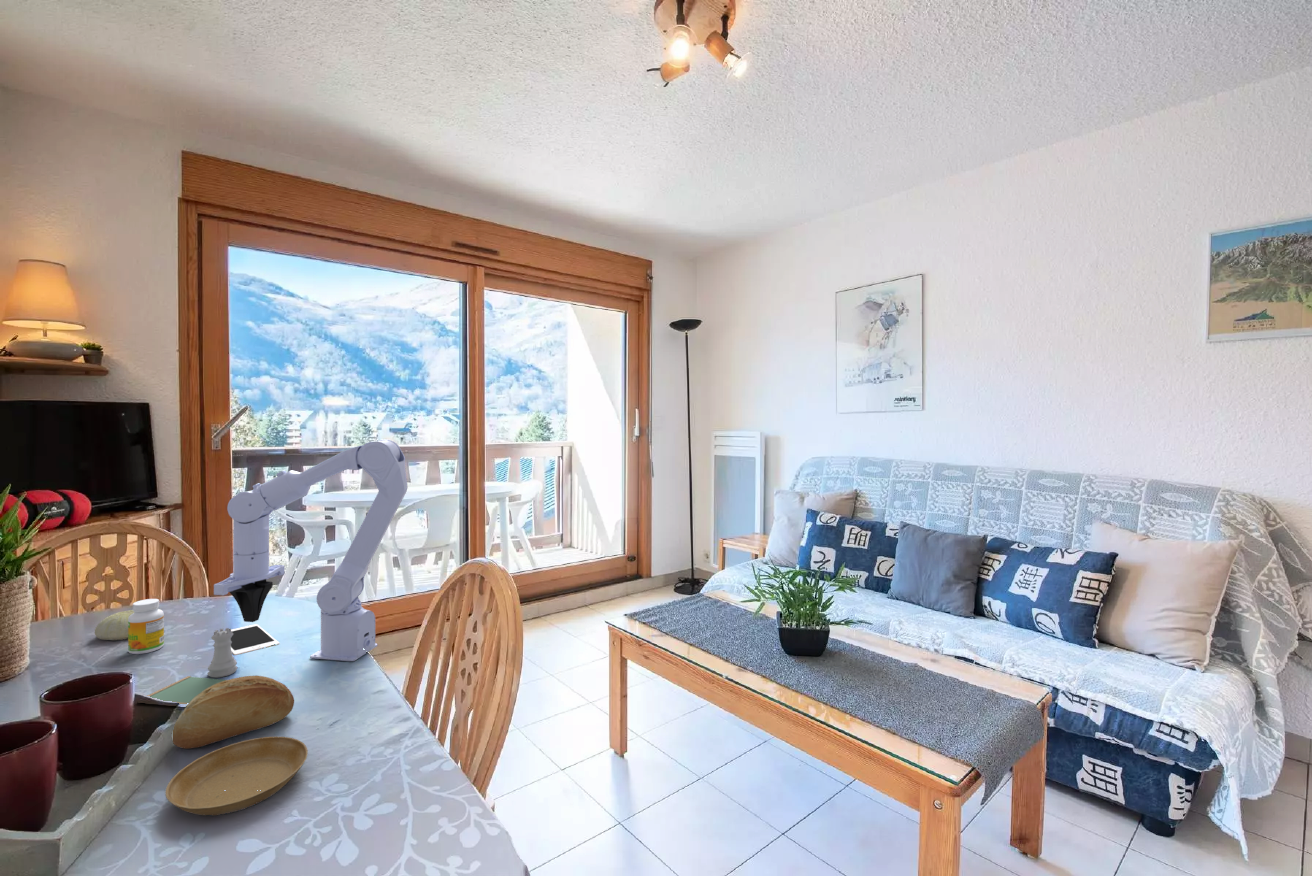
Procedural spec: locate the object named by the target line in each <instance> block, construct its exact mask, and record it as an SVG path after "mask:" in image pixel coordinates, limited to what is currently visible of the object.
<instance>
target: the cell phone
mask: <svg viewBox="0 0 1312 876" xmlns="http://www.w3.org/2000/svg"><path fill="white" fill-rule="evenodd" d="M231 632H232V633H233V636H232V637H231V639H230V640H231V641H232V643H231V652H232V655H234V656H237V655H242V654H245V653H249V652H254V651H258V650H261V648H262V649H265V648H264V647H266V648H270V647H272V646H271V645H274V644H278V645H280V641H278V640H277V639H276V638H274V637H273V636H272V635H271V634H270V633H269V632H268V631H266V630H265V629H264V628H262V627H261V626H260V625H259V624H258V623H256V624H255V623H254V624H251V625H246V626H241V627H237V628H233V629H232V628H231ZM269 646H270V647H269ZM274 646H275V645H274Z"/></svg>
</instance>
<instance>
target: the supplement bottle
mask: <svg viewBox="0 0 1312 876" xmlns="http://www.w3.org/2000/svg"><path fill="white" fill-rule="evenodd" d="M159 607H160V599H158V598H147V599H146V598H145V599H141V600H138V601H135V602H133V603H132V610H133V611H134V613H133V614H131V615H130V616H129V618H128V639H127V641H128V642H127V650H128V653H129V654H133V655H139V654H140V655H141V654H142V655H143V654H149V653H153V652H155V651H158V650H160V649H162V648H163V647H164V645H165V630H164V629H165V621H164V620H165V614H164V611H163V610H162V609H159Z"/></svg>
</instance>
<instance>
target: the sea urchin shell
mask: <svg viewBox="0 0 1312 876" xmlns="http://www.w3.org/2000/svg"><path fill="white" fill-rule="evenodd" d="M133 613H134V611H133V609H129V610H124V611H118V612H115V613H112V614H111V615H108V616H106V617H104V618H103V619H102V620H101V621H100V622H98V624H97V625H96V627H95V629H94V635H95V637H96V638H97V639H99V640H103V641H122V640H123V639H124V640H128V618H129V616H130V615H131V614H133Z"/></svg>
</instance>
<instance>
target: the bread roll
mask: <svg viewBox="0 0 1312 876" xmlns="http://www.w3.org/2000/svg"><path fill="white" fill-rule="evenodd" d="M224 680H225V681H222V682H220V683H217V684H215V685H212V686H210V687H209V688H207V689H205V690H204V691H202V692H201V693H200V694H198V695H197V696H196V697H194V698H193V699H192V700H191V701H190V703H189V704H188V705H187V706H186V708H183V711H182V712H181V713H180V715H179V716H178V718H177V720H176V721H175V723H174V725H173V727H174V730H173V741H172V742H173V743H172V744H173V745H175V746H176V747H178V748H181V749H196V748H200V747H204V746H208V745H210V744H214V743H217V742H220V741H221V742H222V741H223V740H227V739H229V738H232V737H236V736H239V735H242V734H246V733H248V732H252V731H256V730H259V729H261V728H266V727H269V726H271V725H274V724H275V723H278V722H281V721H282V720H283V719H285V718H286V717H287V716H288V715H289V714H290V713H291V712H292V710H293V709H294V706H295V698H294V695H293V693H292V691H291V690H290V689H289V688H288V686H287V685H285V684H284V683H282V682H281V681H278V680H276V679H274V678H271V677H267V676H264V675H263V676H262V675H245V676H239V677H236V678H235V677H233V678H231V679H224Z"/></svg>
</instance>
